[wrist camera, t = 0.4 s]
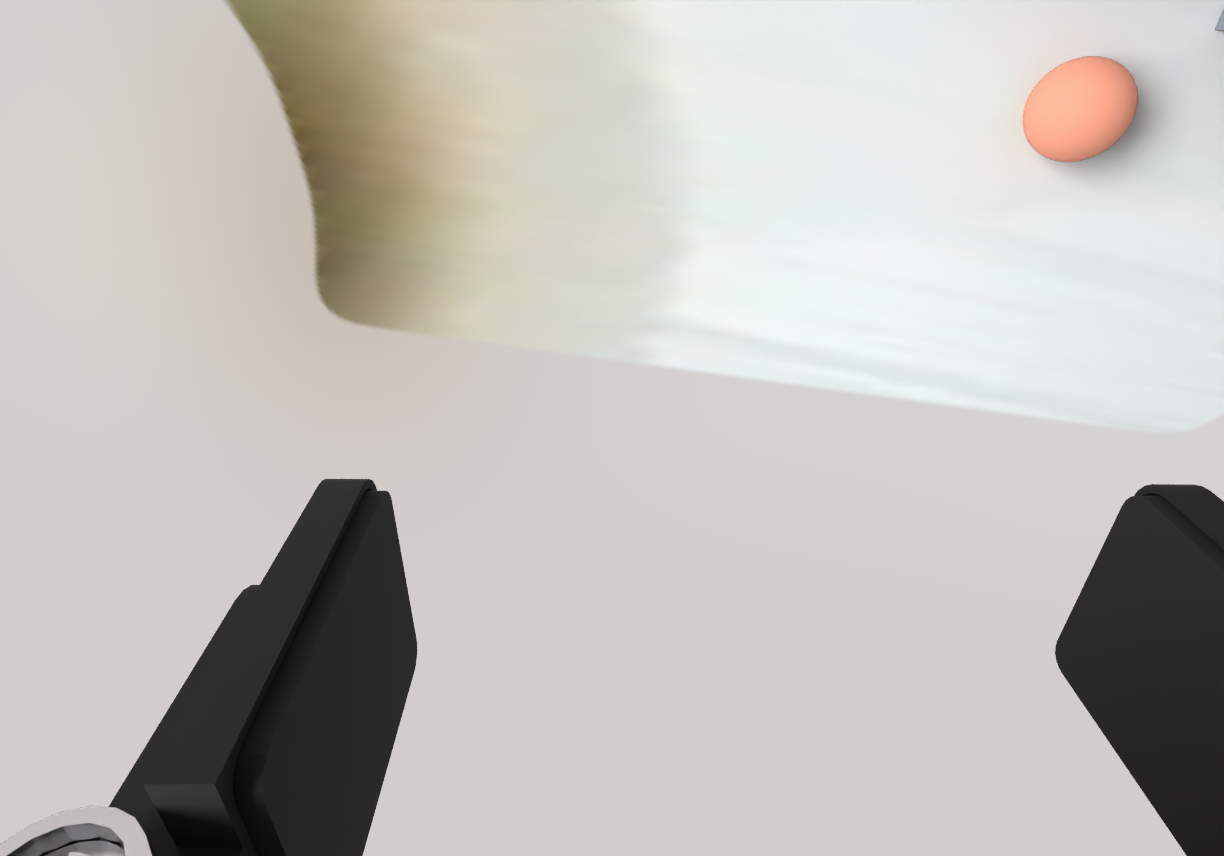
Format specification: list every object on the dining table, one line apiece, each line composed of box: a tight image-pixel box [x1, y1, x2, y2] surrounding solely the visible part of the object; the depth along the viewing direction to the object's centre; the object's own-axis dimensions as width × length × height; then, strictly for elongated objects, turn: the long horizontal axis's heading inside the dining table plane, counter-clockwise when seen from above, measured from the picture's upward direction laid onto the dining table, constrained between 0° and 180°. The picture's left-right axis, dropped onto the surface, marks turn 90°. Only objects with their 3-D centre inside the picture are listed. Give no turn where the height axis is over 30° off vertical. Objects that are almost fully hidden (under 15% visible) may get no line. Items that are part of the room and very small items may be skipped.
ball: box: [1023, 56, 1138, 162], centre depth 37 cm, size 5×5×5 cm
